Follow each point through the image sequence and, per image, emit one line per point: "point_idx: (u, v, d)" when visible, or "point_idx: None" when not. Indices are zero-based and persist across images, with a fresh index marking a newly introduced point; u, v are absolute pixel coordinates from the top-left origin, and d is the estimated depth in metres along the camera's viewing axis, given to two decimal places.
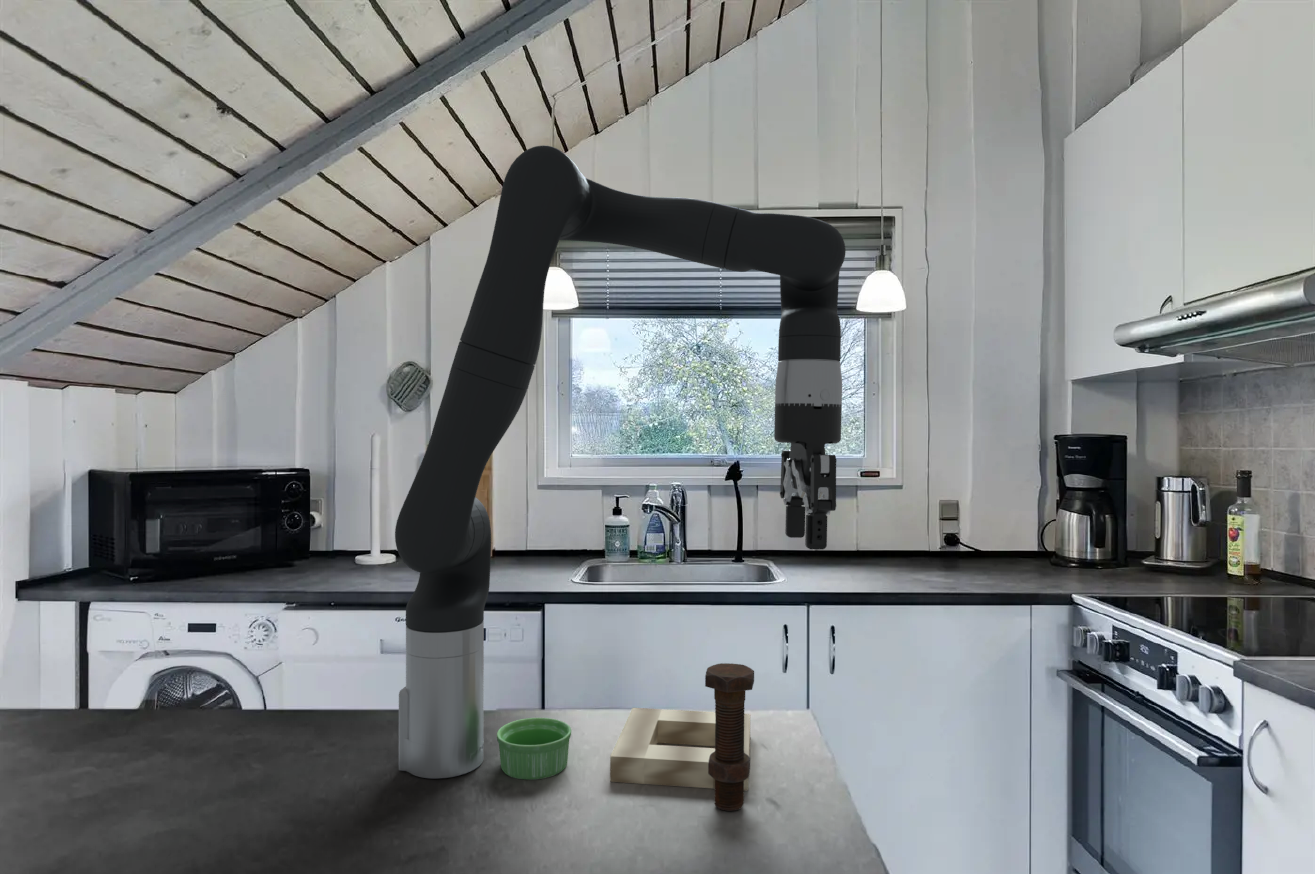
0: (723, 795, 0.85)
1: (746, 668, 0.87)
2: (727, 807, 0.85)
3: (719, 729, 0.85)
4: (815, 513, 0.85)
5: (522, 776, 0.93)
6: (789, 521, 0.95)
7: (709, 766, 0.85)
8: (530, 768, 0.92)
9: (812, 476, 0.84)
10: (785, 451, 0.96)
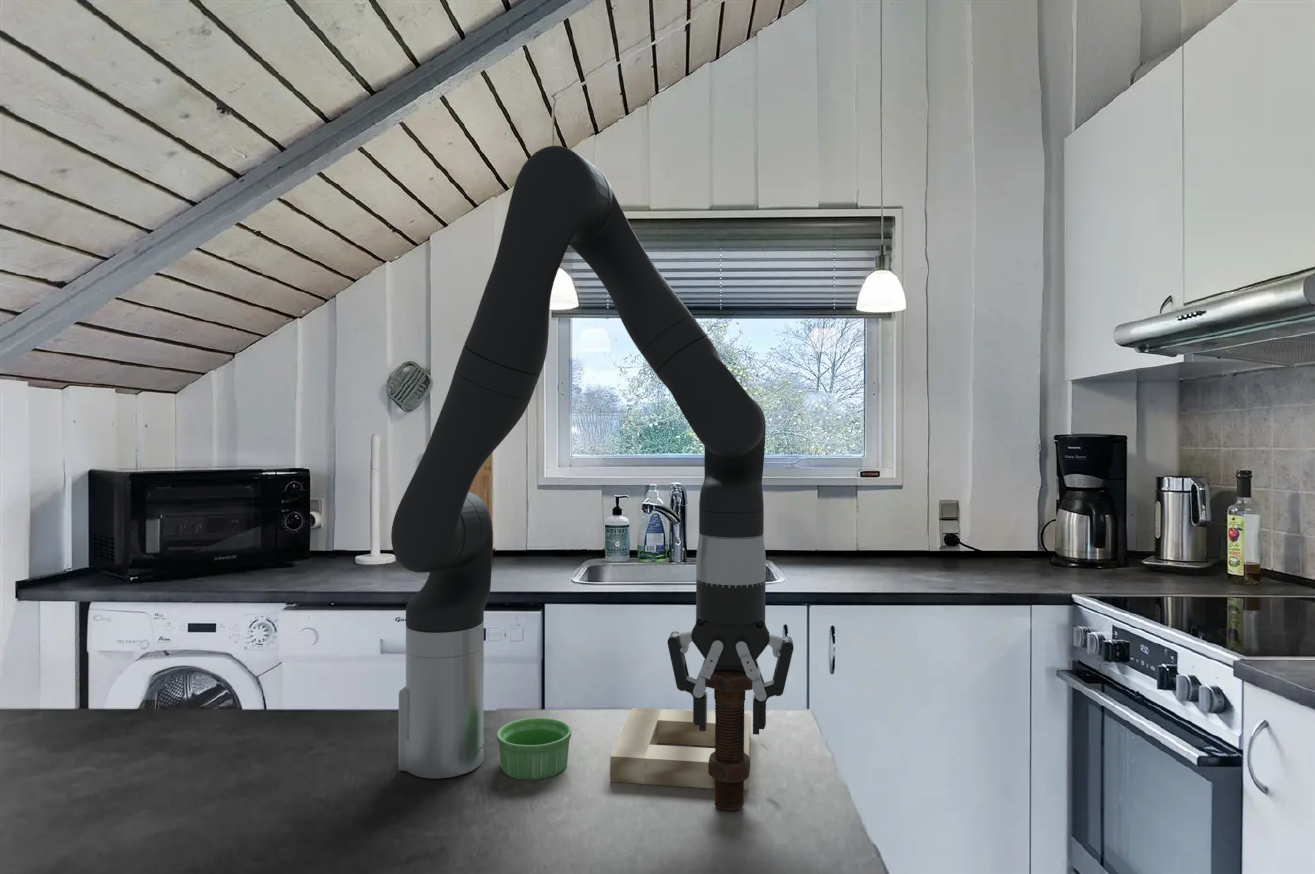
0: (723, 795, 0.85)
1: None
2: (727, 807, 0.85)
3: (719, 729, 0.85)
4: None
5: (522, 776, 0.93)
6: (705, 713, 0.86)
7: (709, 766, 0.85)
8: (530, 768, 0.92)
9: (785, 663, 0.84)
10: (675, 637, 0.86)
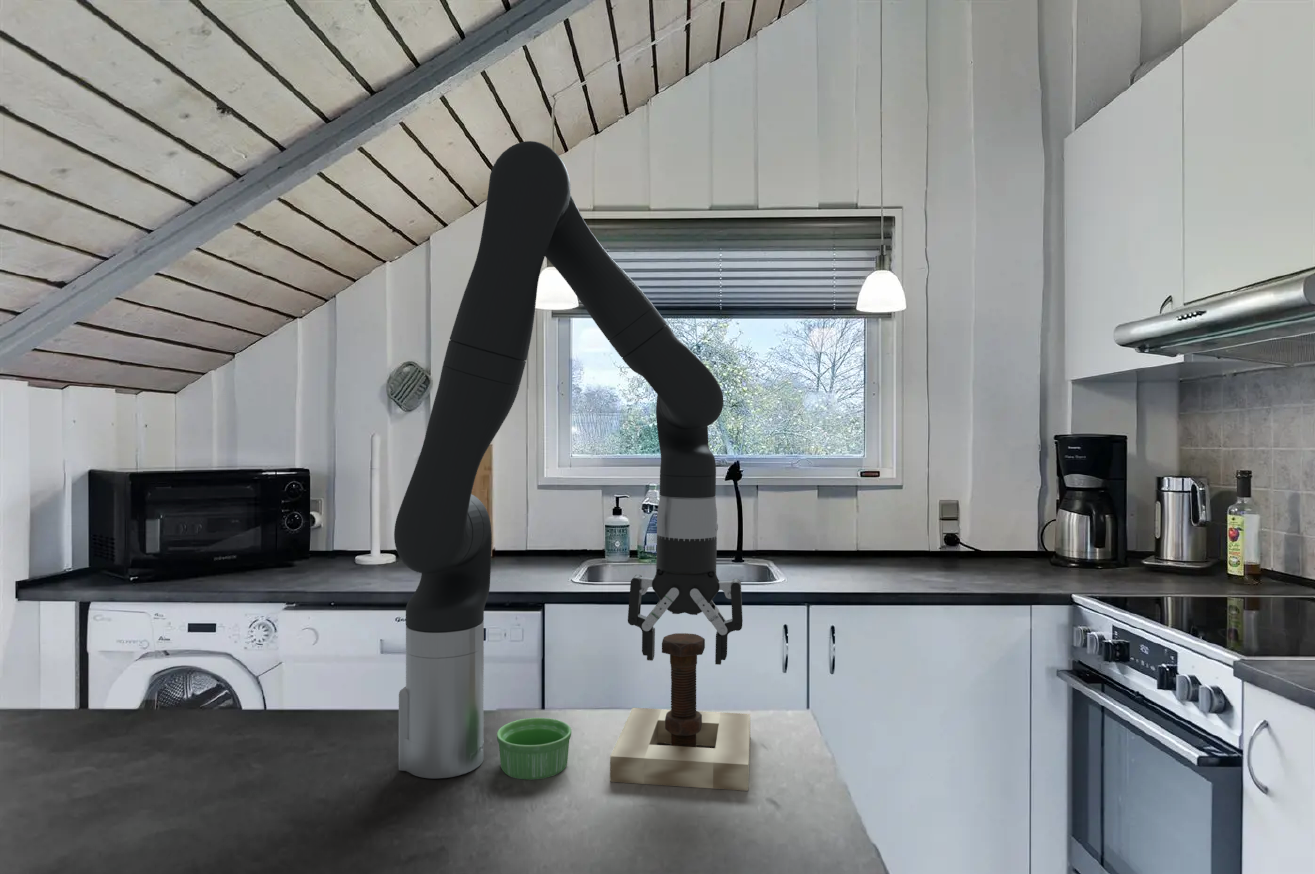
0: None
1: (697, 636, 1.00)
2: None
3: (674, 689, 0.98)
4: None
5: (522, 776, 0.93)
6: (652, 645, 0.99)
7: (666, 722, 0.98)
8: (530, 768, 0.92)
9: (737, 601, 0.97)
10: (638, 579, 0.99)
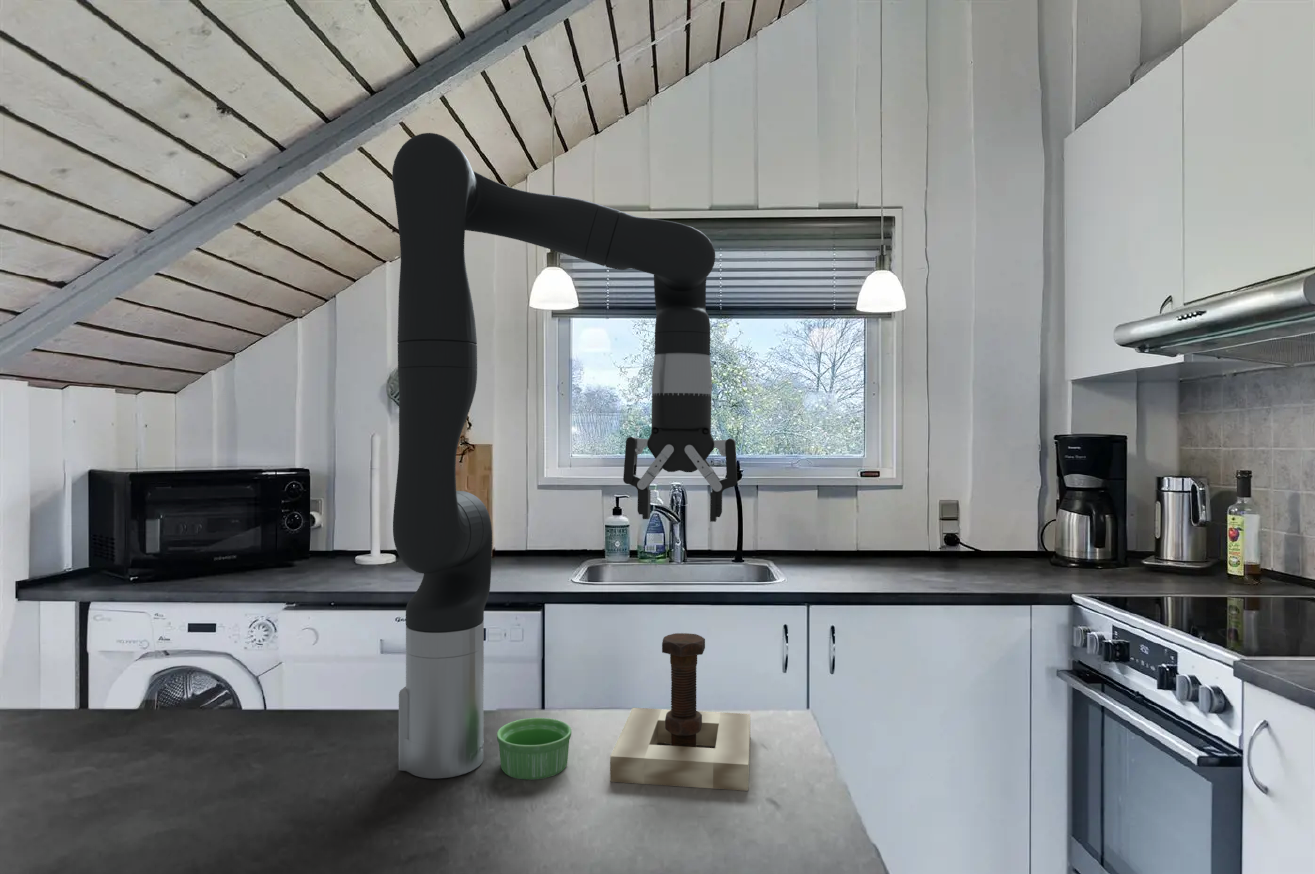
0: None
1: (698, 636, 1.00)
2: None
3: (674, 689, 0.98)
4: (724, 489, 0.99)
5: (522, 776, 0.93)
6: (648, 503, 1.00)
7: (666, 722, 0.98)
8: (530, 768, 0.92)
9: (731, 457, 0.98)
10: (633, 438, 1.00)
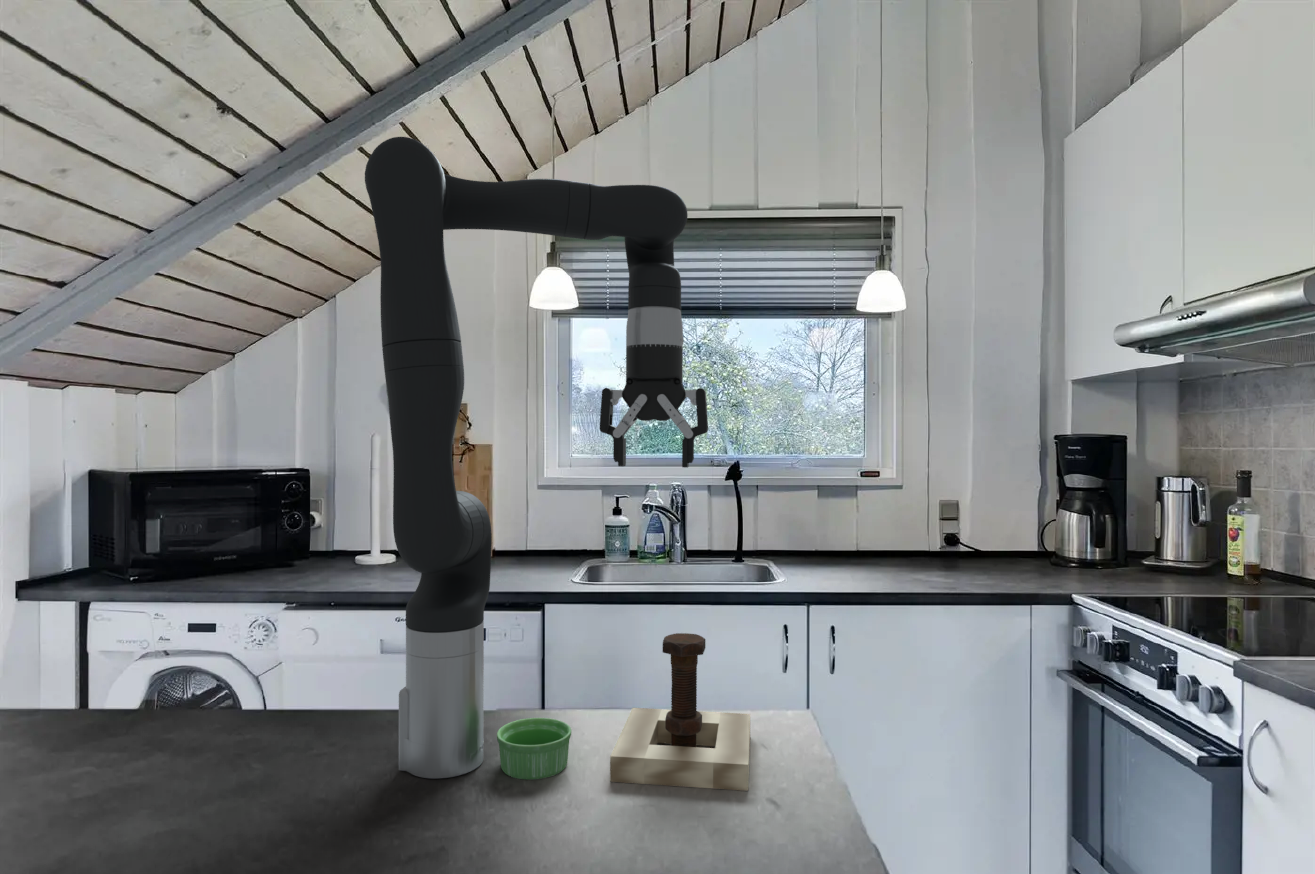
0: None
1: (698, 636, 1.00)
2: None
3: (675, 689, 0.98)
4: (695, 436, 1.04)
5: (522, 776, 0.93)
6: (623, 451, 1.05)
7: (666, 722, 0.98)
8: (530, 768, 0.92)
9: (702, 405, 1.03)
10: (609, 389, 1.05)
